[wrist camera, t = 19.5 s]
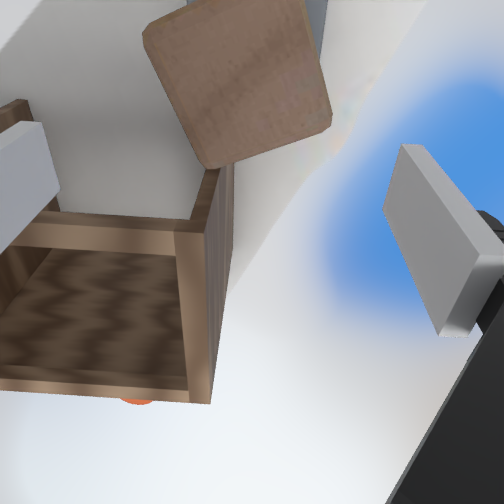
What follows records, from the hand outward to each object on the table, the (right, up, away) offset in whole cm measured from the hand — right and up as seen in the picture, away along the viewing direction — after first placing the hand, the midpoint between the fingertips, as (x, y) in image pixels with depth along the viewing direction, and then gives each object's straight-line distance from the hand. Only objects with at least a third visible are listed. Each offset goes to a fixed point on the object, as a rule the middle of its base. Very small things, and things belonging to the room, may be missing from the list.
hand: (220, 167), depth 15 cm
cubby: (-14, +6, +37) cm, 40 cm away
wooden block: (+1, +19, +26) cm, 32 cm away
